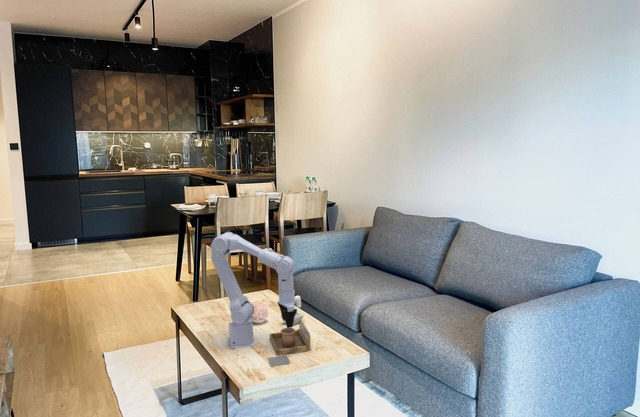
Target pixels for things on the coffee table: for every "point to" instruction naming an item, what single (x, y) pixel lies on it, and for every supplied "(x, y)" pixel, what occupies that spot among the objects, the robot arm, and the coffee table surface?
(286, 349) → the cold frame
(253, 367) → the coffee table surface
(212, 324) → the coffee table surface
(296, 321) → the figurine
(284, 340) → the pot
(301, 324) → the lid
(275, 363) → the tile
